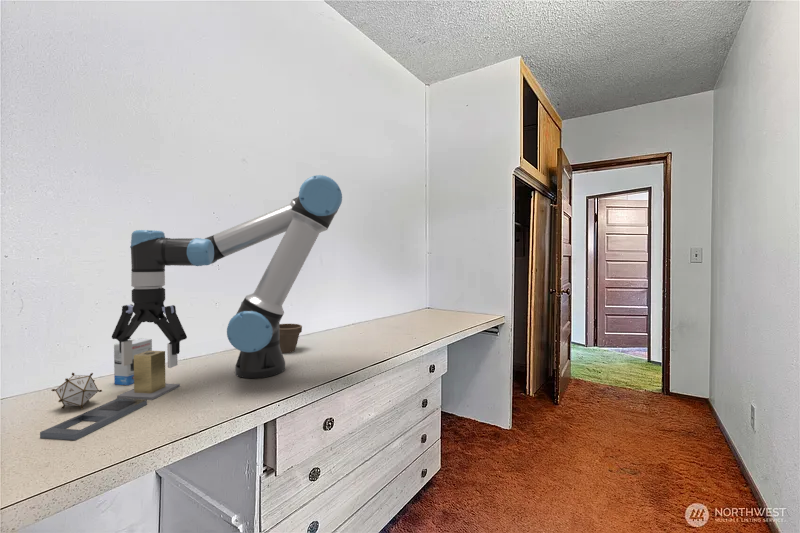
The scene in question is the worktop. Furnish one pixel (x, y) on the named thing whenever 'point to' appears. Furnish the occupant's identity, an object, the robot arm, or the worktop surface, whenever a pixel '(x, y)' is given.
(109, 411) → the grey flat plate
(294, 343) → the flower pot
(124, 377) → the ink box
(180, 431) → the worktop surface
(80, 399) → the game die
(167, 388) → the pad
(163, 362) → the brass block with hole
